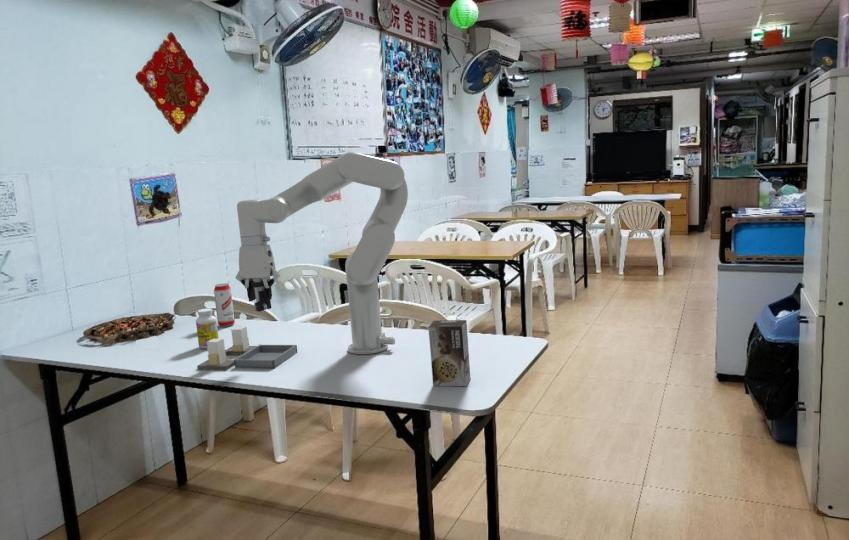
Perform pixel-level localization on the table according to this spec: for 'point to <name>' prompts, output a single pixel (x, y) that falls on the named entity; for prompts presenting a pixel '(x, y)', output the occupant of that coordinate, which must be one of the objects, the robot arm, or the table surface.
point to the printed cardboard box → (449, 353)
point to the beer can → (224, 305)
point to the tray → (266, 356)
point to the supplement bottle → (206, 327)
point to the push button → (260, 296)
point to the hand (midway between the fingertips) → (260, 299)
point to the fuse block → (219, 353)
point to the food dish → (130, 328)
